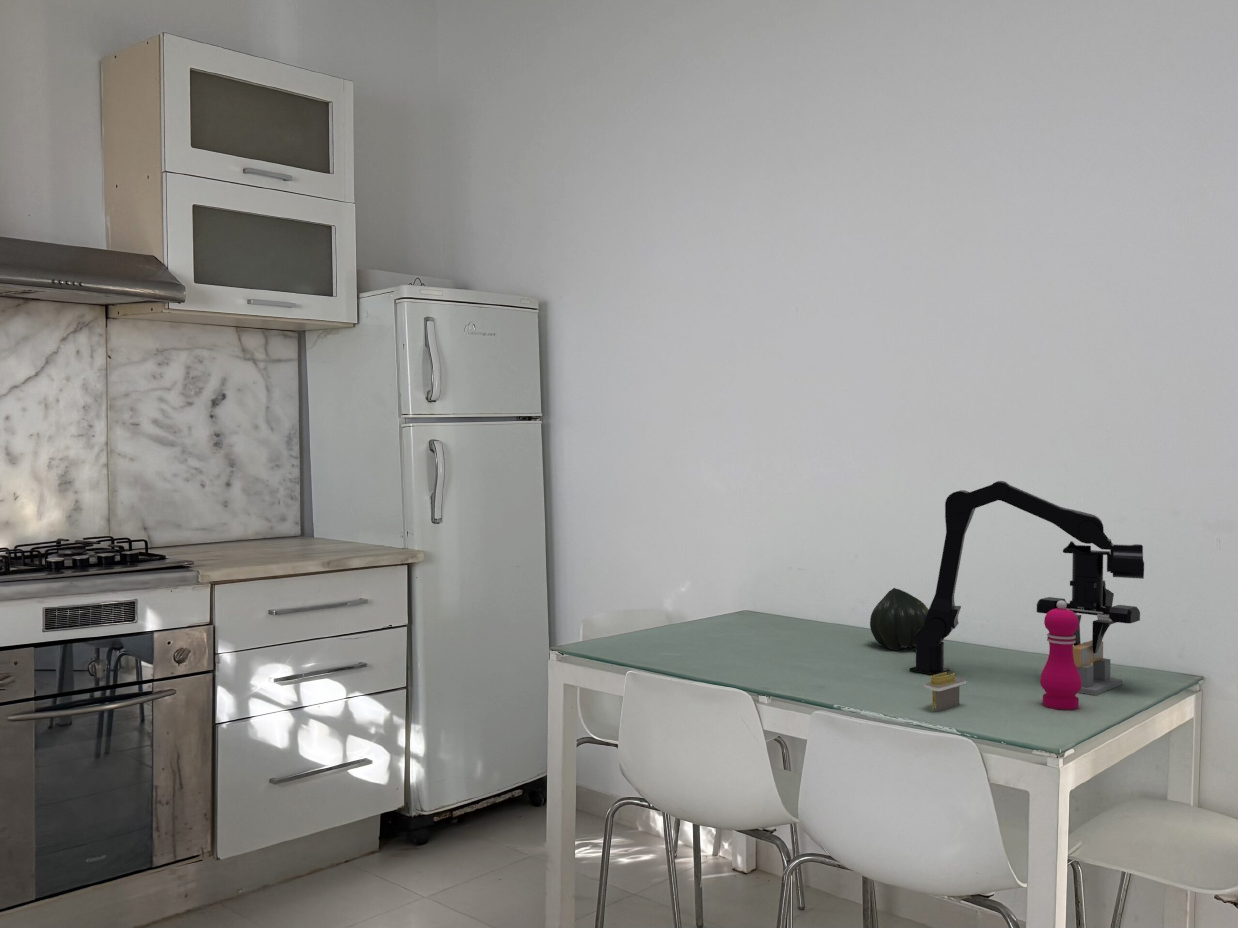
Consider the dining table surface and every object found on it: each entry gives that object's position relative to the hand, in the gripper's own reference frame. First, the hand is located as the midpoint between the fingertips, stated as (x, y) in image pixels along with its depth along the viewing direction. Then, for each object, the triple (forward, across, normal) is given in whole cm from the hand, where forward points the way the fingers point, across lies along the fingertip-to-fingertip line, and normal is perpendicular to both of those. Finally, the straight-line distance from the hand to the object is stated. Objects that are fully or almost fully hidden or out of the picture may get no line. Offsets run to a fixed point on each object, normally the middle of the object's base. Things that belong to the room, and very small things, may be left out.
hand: (1086, 651), depth 209 cm
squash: (+7, +47, -8) cm, 48 cm away
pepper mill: (+7, -3, +20) cm, 21 cm away
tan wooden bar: (+2, 0, 0) cm, 2 cm away
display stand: (+7, 0, 0) cm, 7 cm away
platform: (+8, +12, +37) cm, 39 cm away
